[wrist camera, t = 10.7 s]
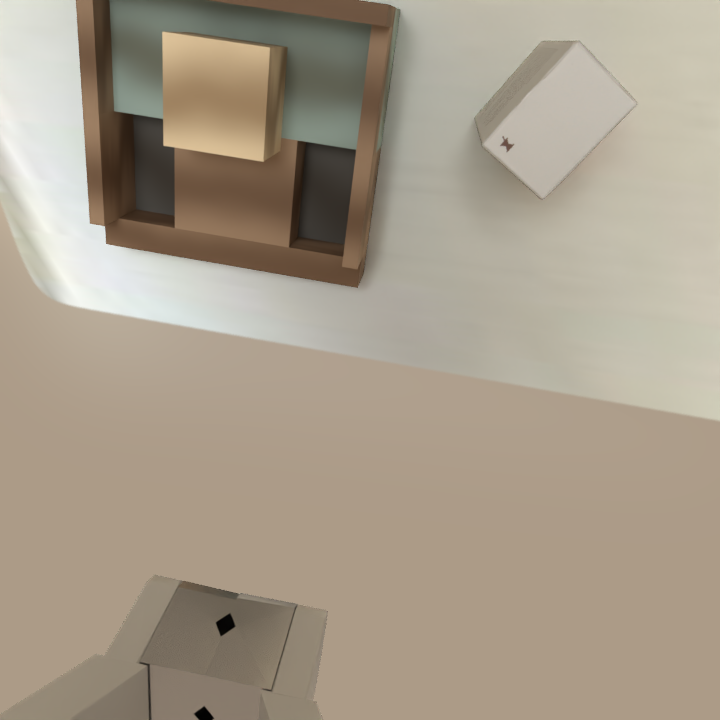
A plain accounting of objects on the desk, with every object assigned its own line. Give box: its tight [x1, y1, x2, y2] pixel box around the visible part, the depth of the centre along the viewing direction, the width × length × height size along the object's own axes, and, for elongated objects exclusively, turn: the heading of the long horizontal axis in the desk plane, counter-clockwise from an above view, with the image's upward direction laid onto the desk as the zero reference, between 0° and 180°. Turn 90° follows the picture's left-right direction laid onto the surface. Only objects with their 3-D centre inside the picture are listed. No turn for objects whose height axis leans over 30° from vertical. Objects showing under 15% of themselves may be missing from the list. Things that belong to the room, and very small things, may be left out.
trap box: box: [76, 0, 400, 288], centre depth 41 cm, size 17×18×7 cm
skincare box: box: [475, 41, 637, 199], centre depth 35 cm, size 6×4×12 cm
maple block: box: [162, 32, 288, 162], centre depth 38 cm, size 6×6×4 cm
